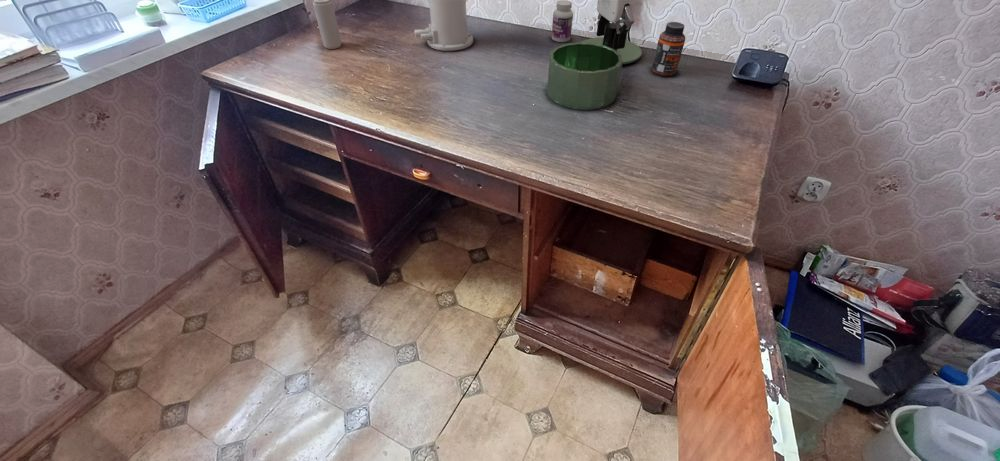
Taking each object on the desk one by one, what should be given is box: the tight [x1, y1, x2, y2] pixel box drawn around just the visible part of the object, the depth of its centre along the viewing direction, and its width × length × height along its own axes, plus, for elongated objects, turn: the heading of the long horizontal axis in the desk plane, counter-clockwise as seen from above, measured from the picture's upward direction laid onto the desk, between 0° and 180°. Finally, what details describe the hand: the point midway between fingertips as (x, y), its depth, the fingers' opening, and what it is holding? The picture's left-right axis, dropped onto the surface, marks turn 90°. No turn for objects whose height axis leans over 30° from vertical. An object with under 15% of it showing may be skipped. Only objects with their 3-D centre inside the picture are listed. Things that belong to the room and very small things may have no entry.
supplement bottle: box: [651, 21, 686, 77], centre depth 111 cm, size 6×6×11 cm
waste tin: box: [546, 42, 624, 111], centre depth 104 cm, size 16×16×8 cm
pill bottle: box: [551, 0, 574, 43], centre depth 127 cm, size 5×5×10 cm
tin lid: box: [580, 22, 643, 65], centre depth 120 cm, size 17×17×7 cm
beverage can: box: [312, 0, 343, 50], centre depth 123 cm, size 5×5×12 cm
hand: (609, 41), depth 121 cm, fingers open, 8 cm apart
